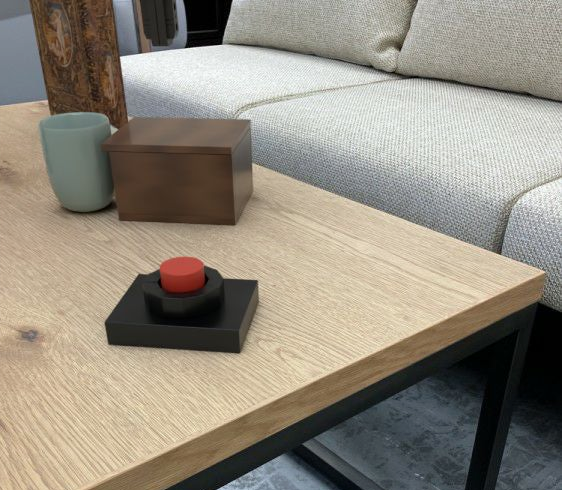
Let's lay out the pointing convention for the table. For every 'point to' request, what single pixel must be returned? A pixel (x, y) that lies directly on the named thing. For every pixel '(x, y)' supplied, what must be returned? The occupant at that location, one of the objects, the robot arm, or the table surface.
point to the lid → (178, 135)
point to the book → (80, 57)
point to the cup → (78, 159)
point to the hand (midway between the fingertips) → (162, 44)
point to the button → (182, 274)
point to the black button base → (184, 314)
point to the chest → (183, 185)
